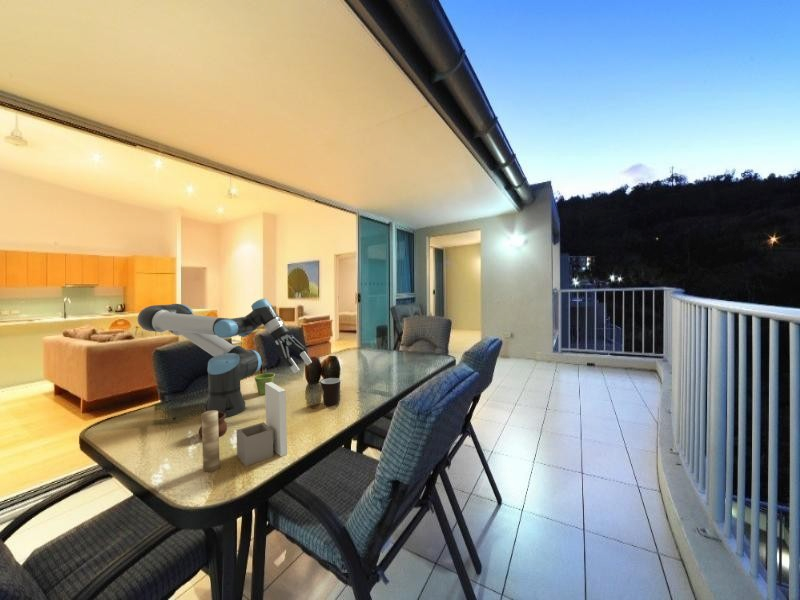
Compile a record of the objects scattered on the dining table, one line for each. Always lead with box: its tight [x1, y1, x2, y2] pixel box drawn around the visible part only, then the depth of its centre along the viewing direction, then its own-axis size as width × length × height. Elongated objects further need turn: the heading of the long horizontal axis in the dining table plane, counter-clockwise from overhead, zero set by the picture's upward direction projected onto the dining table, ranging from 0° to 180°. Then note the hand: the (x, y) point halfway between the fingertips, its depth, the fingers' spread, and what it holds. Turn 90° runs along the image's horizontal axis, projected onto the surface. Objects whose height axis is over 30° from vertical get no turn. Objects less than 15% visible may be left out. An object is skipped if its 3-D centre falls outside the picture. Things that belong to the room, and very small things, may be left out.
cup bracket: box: [236, 382, 288, 467], centre depth 95 cm, size 12×12×20 cm
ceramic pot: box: [197, 412, 233, 439], centre depth 108 cm, size 18×18×7 cm
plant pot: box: [253, 372, 276, 396], centre depth 152 cm, size 9×9×9 cm
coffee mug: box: [320, 377, 342, 407], centre depth 139 cm, size 12×9×10 cm
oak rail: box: [200, 410, 221, 473], centre depth 87 cm, size 4×4×16 cm
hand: (303, 367), depth 139 cm, fingers open, 13 cm apart
